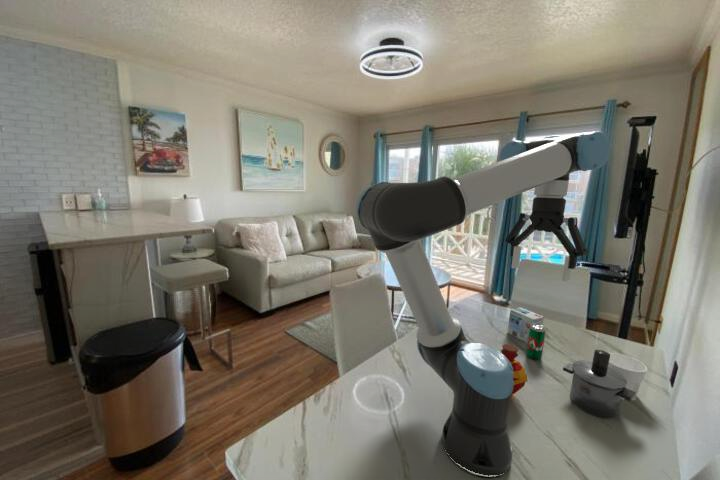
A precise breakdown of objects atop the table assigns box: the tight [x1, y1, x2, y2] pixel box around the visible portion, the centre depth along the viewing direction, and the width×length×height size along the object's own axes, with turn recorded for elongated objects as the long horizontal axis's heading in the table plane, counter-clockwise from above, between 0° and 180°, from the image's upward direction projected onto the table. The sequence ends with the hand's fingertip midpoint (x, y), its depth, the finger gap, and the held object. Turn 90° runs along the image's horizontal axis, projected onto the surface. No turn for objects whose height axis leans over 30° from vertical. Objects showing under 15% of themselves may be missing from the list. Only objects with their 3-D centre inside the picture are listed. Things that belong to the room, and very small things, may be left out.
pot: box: [562, 362, 637, 420], centre depth 86 cm, size 11×16×9 cm
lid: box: [572, 349, 627, 390], centre depth 85 cm, size 12×12×7 cm
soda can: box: [525, 324, 546, 361], centre depth 110 cm, size 5×5×12 cm
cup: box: [608, 352, 648, 402], centre depth 92 cm, size 10×10×10 cm
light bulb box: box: [506, 307, 545, 344], centre depth 125 cm, size 11×7×11 cm, turn 25°
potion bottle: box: [500, 343, 528, 401], centre depth 89 cm, size 10×10×15 cm
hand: (538, 273), depth 85 cm, fingers open, 13 cm apart
